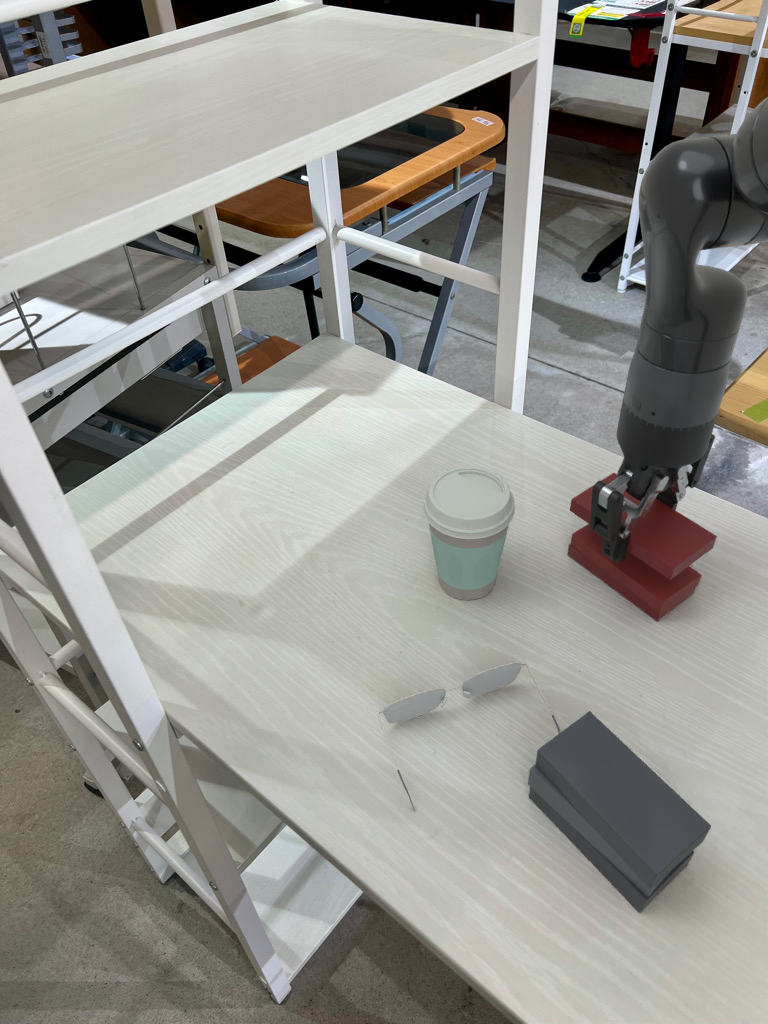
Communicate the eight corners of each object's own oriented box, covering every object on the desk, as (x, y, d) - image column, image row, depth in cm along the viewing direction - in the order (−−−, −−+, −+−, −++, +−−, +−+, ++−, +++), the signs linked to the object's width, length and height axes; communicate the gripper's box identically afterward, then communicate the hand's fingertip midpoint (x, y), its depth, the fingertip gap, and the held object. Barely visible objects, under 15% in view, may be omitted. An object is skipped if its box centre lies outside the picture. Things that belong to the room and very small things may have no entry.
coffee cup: (523, 596, 74) (532, 508, 66) (444, 621, 73) (444, 534, 65) (487, 540, 80) (491, 452, 72) (413, 562, 79) (409, 475, 71)
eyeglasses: (523, 679, 67) (527, 655, 64) (566, 759, 62) (573, 737, 59) (377, 728, 65) (375, 706, 62) (409, 816, 59) (409, 796, 56)
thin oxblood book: (713, 548, 69) (717, 536, 68) (670, 580, 67) (674, 568, 65) (611, 484, 76) (613, 472, 75) (569, 510, 74) (571, 498, 73)
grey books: (692, 864, 55) (716, 821, 50) (639, 918, 52) (658, 878, 48) (574, 752, 62) (585, 705, 57) (522, 795, 59) (529, 749, 55)
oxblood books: (697, 594, 73) (704, 572, 71) (657, 625, 71) (664, 603, 69) (603, 530, 80) (608, 508, 78) (565, 556, 78) (568, 534, 76)
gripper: (652, 455, 56) (617, 600, 67) (765, 383, 62) (715, 527, 73) (576, 411, 60) (555, 554, 72) (688, 348, 66) (652, 489, 78)
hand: (636, 540), depth 72 cm, fingers closed on thin oxblood book, 6 cm apart
